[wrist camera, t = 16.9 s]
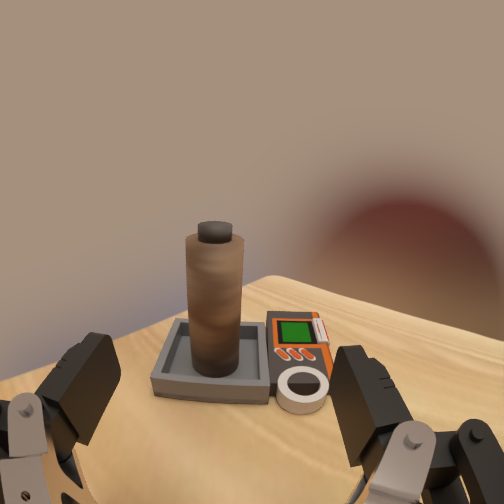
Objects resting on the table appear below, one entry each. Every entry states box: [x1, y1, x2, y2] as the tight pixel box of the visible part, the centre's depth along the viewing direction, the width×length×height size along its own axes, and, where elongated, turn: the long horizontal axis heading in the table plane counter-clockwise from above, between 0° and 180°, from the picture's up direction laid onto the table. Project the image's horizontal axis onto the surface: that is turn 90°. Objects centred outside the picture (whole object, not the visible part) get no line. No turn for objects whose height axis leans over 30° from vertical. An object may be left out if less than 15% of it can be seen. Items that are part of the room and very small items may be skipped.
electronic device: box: [266, 311, 334, 414], centre depth 27 cm, size 7×3×15 cm
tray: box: [150, 318, 270, 404], centre depth 26 cm, size 10×10×2 cm
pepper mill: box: [186, 221, 244, 378], centre depth 24 cm, size 5×5×14 cm
